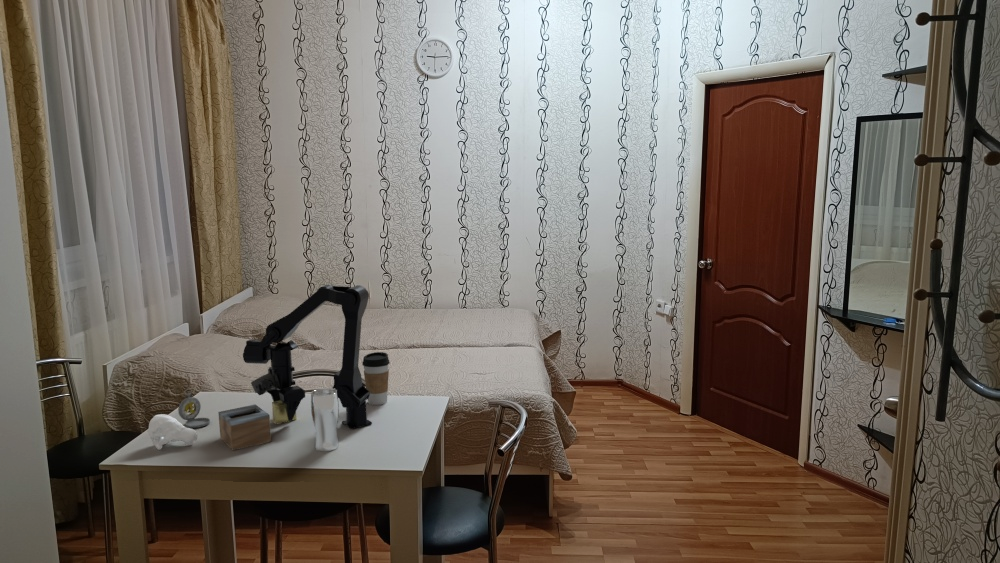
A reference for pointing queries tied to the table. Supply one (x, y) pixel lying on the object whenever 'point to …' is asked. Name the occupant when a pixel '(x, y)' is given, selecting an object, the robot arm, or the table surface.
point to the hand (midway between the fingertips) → (284, 416)
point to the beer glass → (325, 418)
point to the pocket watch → (187, 406)
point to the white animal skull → (169, 431)
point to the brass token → (280, 412)
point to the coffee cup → (376, 376)
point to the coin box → (244, 426)
